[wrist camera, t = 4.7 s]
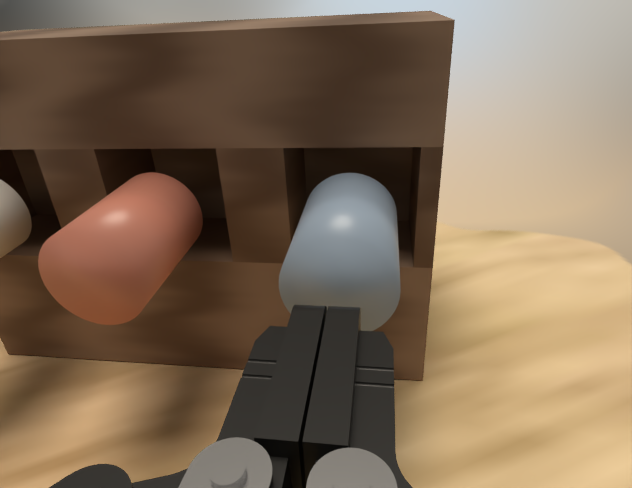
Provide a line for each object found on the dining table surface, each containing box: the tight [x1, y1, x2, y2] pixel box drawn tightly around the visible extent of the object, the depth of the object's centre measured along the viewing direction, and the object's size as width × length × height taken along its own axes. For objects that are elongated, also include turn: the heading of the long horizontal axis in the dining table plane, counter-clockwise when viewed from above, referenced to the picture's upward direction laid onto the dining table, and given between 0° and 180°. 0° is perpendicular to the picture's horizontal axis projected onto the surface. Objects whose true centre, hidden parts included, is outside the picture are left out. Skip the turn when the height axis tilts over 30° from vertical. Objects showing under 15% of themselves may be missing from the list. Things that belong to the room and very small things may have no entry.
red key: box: [38, 172, 203, 325], centre depth 15 cm, size 3×4×3 cm
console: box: [0, 11, 454, 380], centre depth 21 cm, size 20×8×14 cm, turn 82°
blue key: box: [279, 173, 401, 331], centre depth 14 cm, size 3×4×3 cm
